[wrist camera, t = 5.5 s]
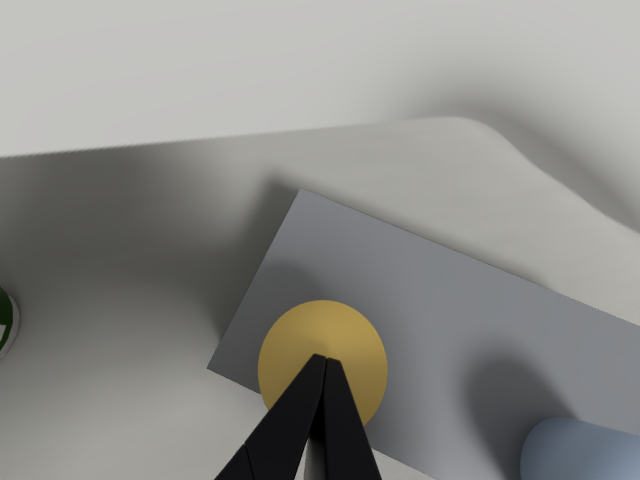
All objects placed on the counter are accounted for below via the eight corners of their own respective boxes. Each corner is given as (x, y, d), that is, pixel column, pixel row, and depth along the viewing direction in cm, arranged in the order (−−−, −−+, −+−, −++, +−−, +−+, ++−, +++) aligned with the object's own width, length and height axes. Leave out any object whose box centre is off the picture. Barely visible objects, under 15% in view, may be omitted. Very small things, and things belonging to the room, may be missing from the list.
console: (587, 340, 17) (669, 338, 13) (570, 525, 14) (668, 591, 10) (301, 220, 18) (300, 187, 15) (229, 362, 15) (206, 368, 12)
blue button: (574, 468, 14) (758, 550, 8) (511, 525, 13) (668, 660, 7) (515, 384, 15) (642, 407, 9) (453, 432, 14) (552, 488, 8)
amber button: (371, 374, 14) (412, 391, 9) (299, 422, 14) (296, 473, 8) (330, 302, 15) (344, 278, 10) (261, 342, 15) (236, 340, 9)
